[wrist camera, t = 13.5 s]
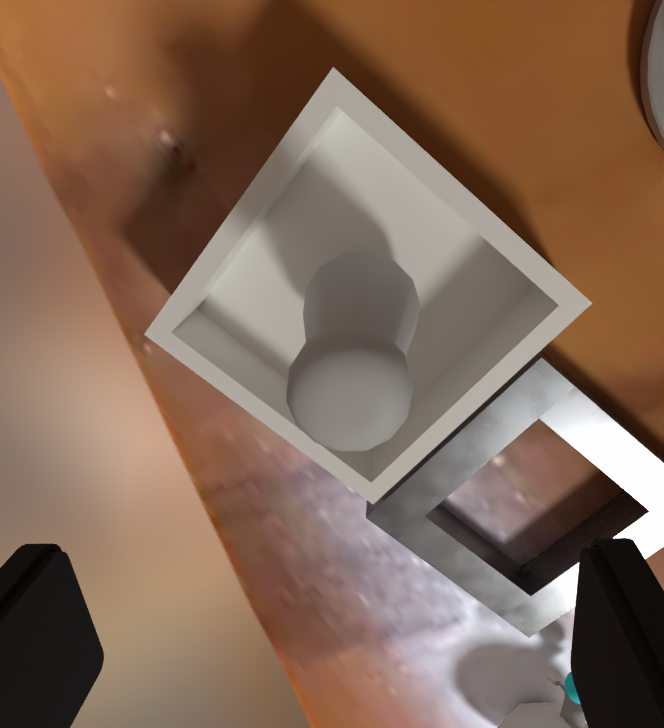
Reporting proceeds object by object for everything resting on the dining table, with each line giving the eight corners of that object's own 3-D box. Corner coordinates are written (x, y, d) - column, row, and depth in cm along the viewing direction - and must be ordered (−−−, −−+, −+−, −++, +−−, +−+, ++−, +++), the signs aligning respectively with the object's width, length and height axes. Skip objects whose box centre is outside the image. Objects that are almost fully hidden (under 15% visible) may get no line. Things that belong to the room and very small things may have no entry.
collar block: (529, 340, 30) (541, 357, 28) (694, 483, 33) (717, 509, 30) (367, 493, 35) (365, 517, 33) (520, 607, 38) (529, 637, 35)
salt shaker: (296, 324, 30) (235, 446, 18) (329, 226, 28) (285, 292, 16) (393, 360, 30) (397, 503, 19) (435, 265, 28) (468, 359, 16)
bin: (342, 79, 26) (333, 66, 22) (559, 276, 29) (592, 303, 24) (179, 305, 32) (144, 334, 27) (375, 455, 34) (373, 504, 30)
